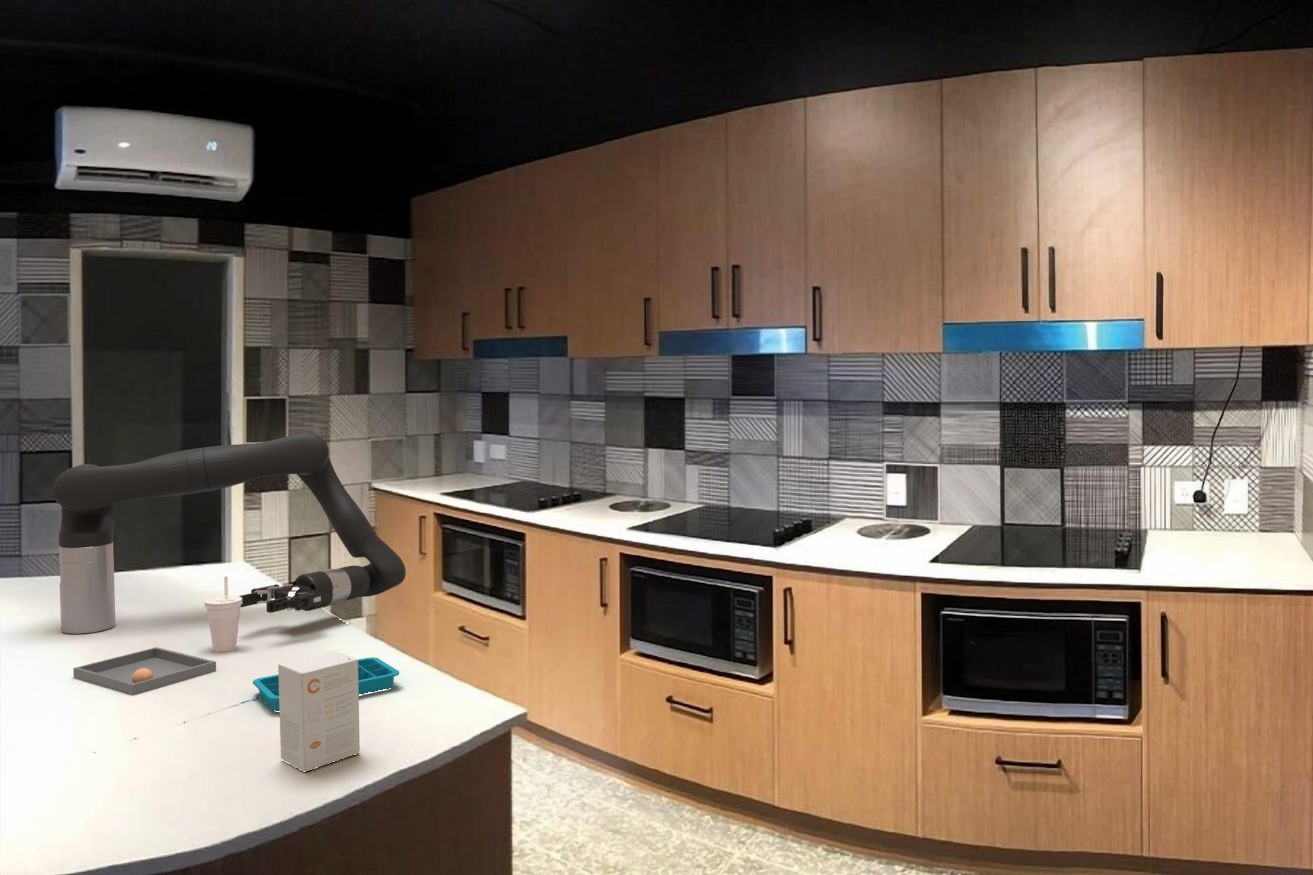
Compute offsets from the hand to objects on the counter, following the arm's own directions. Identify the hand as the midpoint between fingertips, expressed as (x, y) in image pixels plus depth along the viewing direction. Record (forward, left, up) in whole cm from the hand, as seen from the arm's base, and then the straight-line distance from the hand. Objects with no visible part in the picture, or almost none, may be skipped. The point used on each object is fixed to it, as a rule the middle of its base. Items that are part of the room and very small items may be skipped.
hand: (253, 604), depth 172 cm
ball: (+8, -26, -7) cm, 28 cm away
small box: (+55, -30, -8) cm, 63 cm away
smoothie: (0, -6, -8) cm, 10 cm away
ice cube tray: (+35, -12, -8) cm, 38 cm away
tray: (+2, -22, -7) cm, 24 cm away
